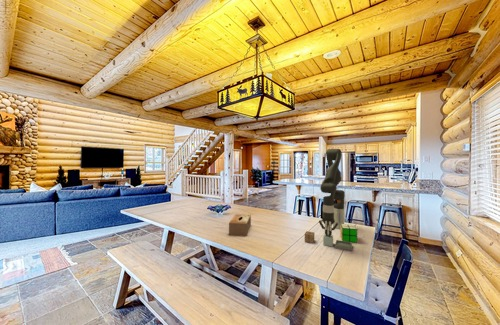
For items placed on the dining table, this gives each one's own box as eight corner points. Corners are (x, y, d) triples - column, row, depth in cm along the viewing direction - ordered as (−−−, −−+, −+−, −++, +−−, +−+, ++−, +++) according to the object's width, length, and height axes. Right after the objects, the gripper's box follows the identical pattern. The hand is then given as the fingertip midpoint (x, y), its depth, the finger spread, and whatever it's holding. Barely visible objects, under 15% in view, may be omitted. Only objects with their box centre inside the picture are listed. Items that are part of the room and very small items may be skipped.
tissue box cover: (246, 236, 161) (246, 223, 161) (228, 235, 163) (228, 222, 162) (250, 225, 186) (250, 214, 186) (235, 224, 188) (235, 214, 188)
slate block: (324, 241, 148) (324, 233, 148) (333, 243, 145) (333, 235, 145) (323, 245, 143) (323, 236, 143) (332, 246, 140) (332, 238, 140)
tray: (336, 242, 146) (336, 239, 146) (351, 245, 142) (351, 242, 142) (335, 248, 137) (335, 245, 137) (351, 251, 133) (351, 248, 133)
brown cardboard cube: (306, 238, 154) (306, 231, 154) (314, 240, 151) (314, 232, 151) (304, 241, 148) (304, 233, 148) (313, 243, 146) (313, 235, 146)
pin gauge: (326, 240, 145) (326, 223, 145) (329, 240, 144) (329, 223, 144) (326, 241, 144) (326, 224, 143) (329, 241, 143) (329, 224, 142)
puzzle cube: (354, 237, 156) (354, 224, 156) (357, 242, 146) (357, 229, 146) (340, 236, 159) (340, 223, 159) (342, 241, 149) (342, 227, 149)
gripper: (339, 210, 144) (339, 235, 144) (318, 208, 150) (318, 232, 150) (338, 213, 137) (338, 238, 138) (317, 211, 143) (317, 235, 144)
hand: (328, 235), depth 144 cm, fingers closed on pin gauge, 2 cm apart
